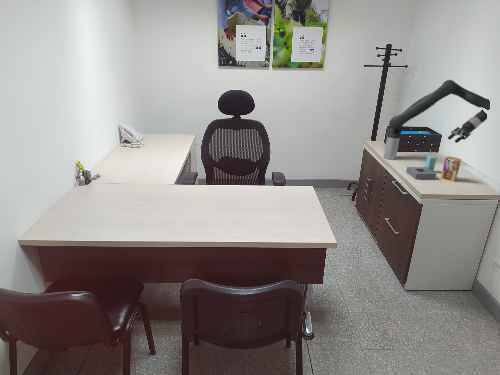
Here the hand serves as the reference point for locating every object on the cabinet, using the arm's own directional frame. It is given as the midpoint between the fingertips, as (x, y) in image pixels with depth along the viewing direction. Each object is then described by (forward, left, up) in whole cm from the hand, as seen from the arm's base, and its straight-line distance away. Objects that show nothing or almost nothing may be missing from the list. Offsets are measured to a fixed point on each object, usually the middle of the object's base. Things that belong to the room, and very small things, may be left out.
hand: (451, 140), depth 255 cm
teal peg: (0, -12, -23) cm, 26 cm away
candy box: (+15, -6, -24) cm, 29 cm away
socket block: (+9, -23, -23) cm, 34 cm away
